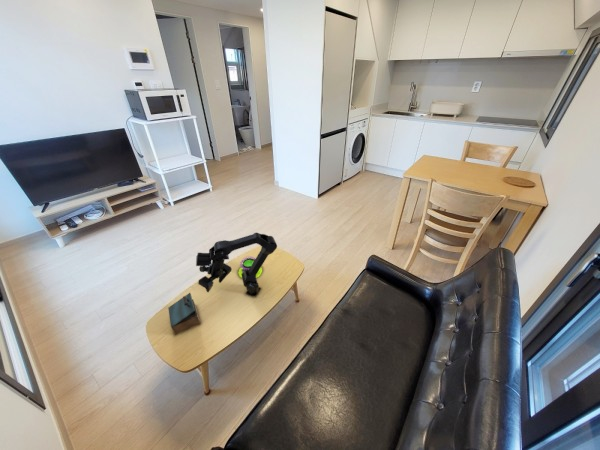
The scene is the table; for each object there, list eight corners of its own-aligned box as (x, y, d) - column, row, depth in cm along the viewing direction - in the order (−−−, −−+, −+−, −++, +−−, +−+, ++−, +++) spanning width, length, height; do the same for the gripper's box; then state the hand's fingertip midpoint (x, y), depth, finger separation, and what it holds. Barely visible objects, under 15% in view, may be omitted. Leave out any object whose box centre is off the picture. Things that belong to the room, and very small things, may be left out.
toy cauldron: (253, 259, 162) (251, 247, 156) (266, 271, 153) (265, 258, 147) (234, 270, 154) (231, 258, 148) (246, 283, 145) (244, 270, 139)
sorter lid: (190, 293, 125) (185, 289, 122) (195, 310, 116) (189, 306, 113) (169, 308, 123) (163, 304, 120) (171, 327, 114) (165, 323, 111)
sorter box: (195, 306, 131) (193, 299, 128) (200, 323, 122) (197, 316, 119) (172, 315, 126) (168, 308, 123) (175, 334, 117) (171, 327, 114)
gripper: (217, 250, 131) (214, 271, 137) (191, 265, 114) (188, 289, 121) (234, 259, 128) (229, 280, 135) (209, 276, 112) (205, 300, 119)
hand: (213, 287), depth 127 cm, fingers open, 9 cm apart
